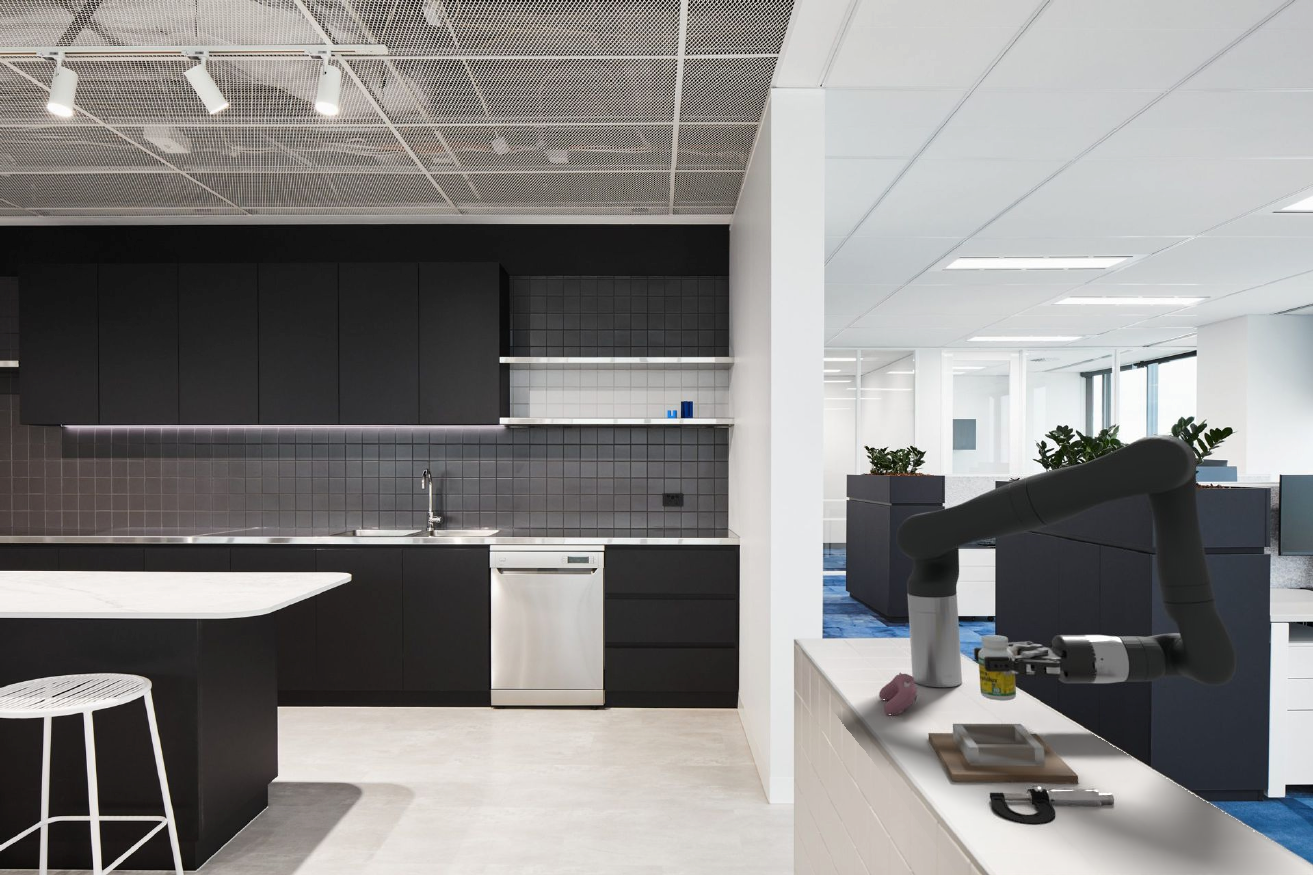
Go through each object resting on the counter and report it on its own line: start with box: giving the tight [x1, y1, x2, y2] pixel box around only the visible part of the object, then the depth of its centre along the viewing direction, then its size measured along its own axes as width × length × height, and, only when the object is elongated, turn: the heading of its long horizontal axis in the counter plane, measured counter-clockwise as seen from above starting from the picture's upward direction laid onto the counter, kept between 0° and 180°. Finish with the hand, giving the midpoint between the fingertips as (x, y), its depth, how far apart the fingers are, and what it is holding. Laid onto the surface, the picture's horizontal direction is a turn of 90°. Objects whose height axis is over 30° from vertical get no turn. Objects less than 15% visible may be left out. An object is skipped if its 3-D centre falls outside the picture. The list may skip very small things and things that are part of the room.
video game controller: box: [878, 672, 919, 716], centre depth 135 cm, size 10×5×7 cm, turn 169°
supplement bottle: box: [978, 634, 1017, 702], centre depth 125 cm, size 5×5×10 cm
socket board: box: [927, 723, 1079, 784], centre depth 110 cm, size 16×16×4 cm
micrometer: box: [989, 784, 1115, 826], centre depth 94 cm, size 15×7×2 cm, turn 82°
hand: (980, 659), depth 125 cm, fingers closed on supplement bottle, 5 cm apart
